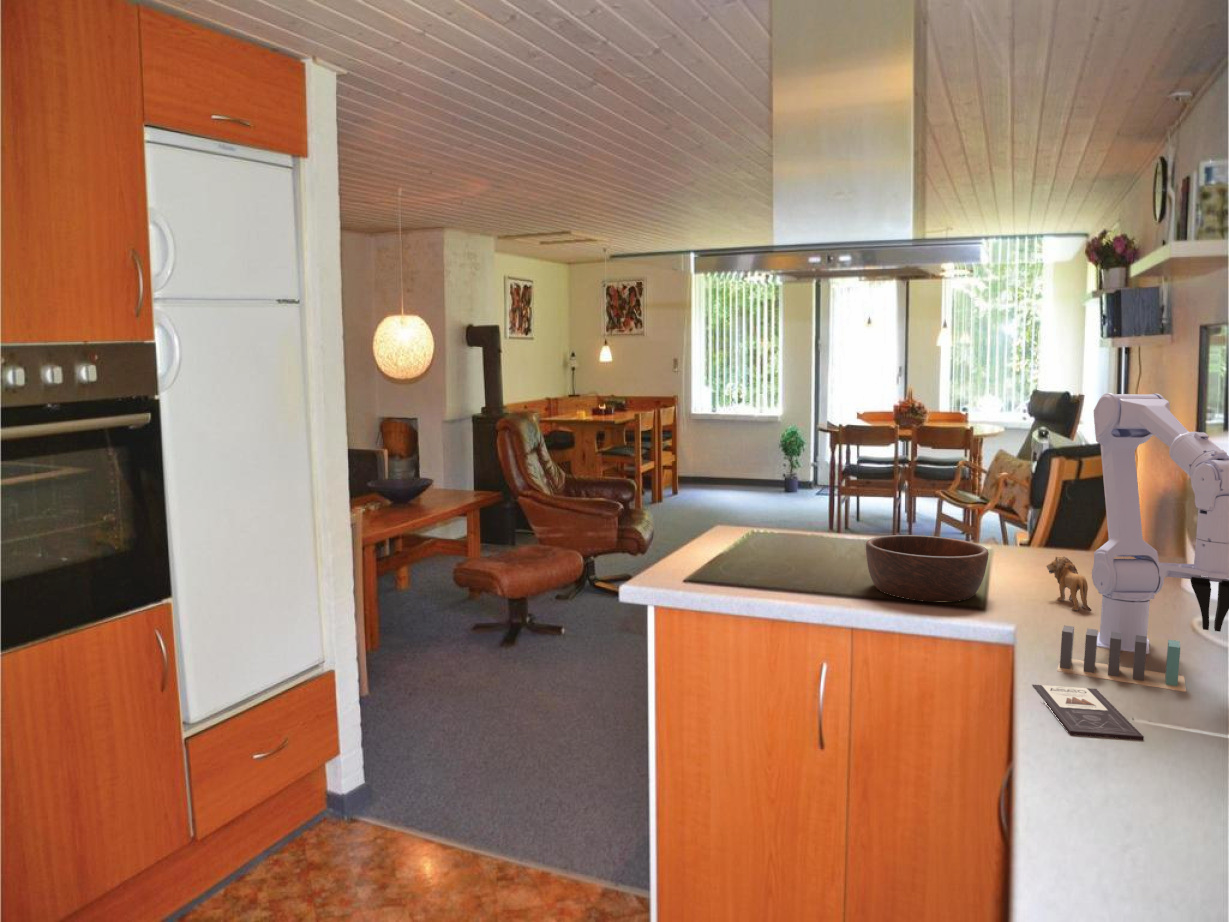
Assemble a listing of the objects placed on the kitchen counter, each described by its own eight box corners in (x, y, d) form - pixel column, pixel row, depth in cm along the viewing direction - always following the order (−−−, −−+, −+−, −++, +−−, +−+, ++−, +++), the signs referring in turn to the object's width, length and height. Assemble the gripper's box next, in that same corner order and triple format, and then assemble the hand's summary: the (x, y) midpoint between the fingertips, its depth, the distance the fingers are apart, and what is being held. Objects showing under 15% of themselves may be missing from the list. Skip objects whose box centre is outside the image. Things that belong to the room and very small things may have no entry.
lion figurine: (1041, 595, 196) (1044, 553, 195) (1066, 595, 196) (1068, 553, 195) (1078, 613, 181) (1081, 569, 180) (1104, 613, 181) (1107, 569, 180)
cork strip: (1060, 659, 152) (1061, 657, 152) (1183, 678, 143) (1183, 676, 143) (1056, 673, 145) (1056, 670, 145) (1185, 694, 137) (1185, 691, 137)
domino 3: (1107, 675, 143) (1110, 638, 143) (1108, 668, 147) (1111, 631, 146) (1118, 677, 143) (1121, 639, 142) (1119, 669, 146) (1121, 633, 145)
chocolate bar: (1070, 731, 121) (1032, 684, 138) (1069, 737, 121) (1031, 690, 139) (1143, 736, 119) (1096, 688, 137) (1143, 743, 119) (1095, 694, 137)
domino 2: (1083, 671, 145) (1085, 634, 144) (1084, 664, 149) (1087, 628, 148) (1094, 673, 144) (1096, 636, 144) (1095, 666, 148) (1097, 629, 147)
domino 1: (1059, 667, 147) (1062, 631, 146) (1061, 660, 150) (1063, 625, 150) (1070, 669, 146) (1072, 632, 145) (1071, 662, 149) (1074, 626, 149)
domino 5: (1165, 684, 139) (1168, 646, 139) (1165, 676, 143) (1168, 639, 142) (1177, 686, 139) (1180, 647, 138) (1176, 678, 142) (1179, 641, 142)
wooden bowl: (852, 597, 192) (854, 549, 191) (877, 574, 214) (879, 530, 213) (979, 613, 181) (981, 562, 180) (991, 587, 203) (994, 541, 202)
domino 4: (1132, 679, 142) (1135, 641, 141) (1132, 671, 145) (1135, 635, 144) (1143, 680, 141) (1146, 643, 140) (1143, 673, 144) (1146, 636, 144)
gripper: (1162, 539, 136) (1155, 628, 138) (1281, 549, 129) (1273, 643, 131) (1161, 532, 142) (1155, 617, 144) (1275, 541, 135) (1267, 631, 137)
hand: (1211, 629), depth 138 cm, fingers closed
